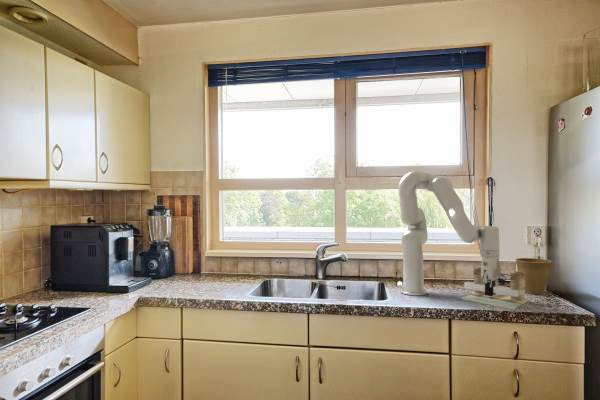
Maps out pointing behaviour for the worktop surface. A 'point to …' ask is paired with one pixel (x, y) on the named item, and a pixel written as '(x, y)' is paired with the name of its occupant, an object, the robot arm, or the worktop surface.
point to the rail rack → (515, 282)
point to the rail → (495, 289)
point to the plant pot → (534, 273)
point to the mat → (491, 302)
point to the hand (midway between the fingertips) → (490, 294)
